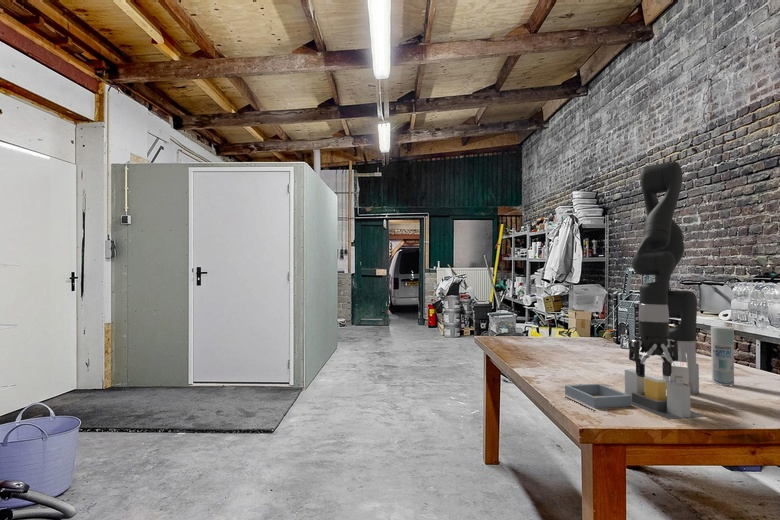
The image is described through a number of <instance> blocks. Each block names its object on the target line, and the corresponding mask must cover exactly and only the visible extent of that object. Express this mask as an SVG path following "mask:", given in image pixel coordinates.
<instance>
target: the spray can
mask: <svg viewBox="0 0 780 520" xmlns="http://www.w3.org/2000/svg"><path fill="white" fill-rule="evenodd" d="M734 329H735V328H734V327H731V326H723V325H722V326H720V325H713V326H712V325H711V326H710V350H711V351H710V353H711V358H710V359H711V382H713V383H716V384H721V385H734V386H735V346H734V345H735V342H734V341H735V336H734V335H735V334H734V333H735V332H734V331H735V330H734ZM713 383H712V384H713ZM716 384H715V385H716Z"/></svg>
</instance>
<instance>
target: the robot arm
mask: <svg viewBox="0 0 780 520" xmlns="http://www.w3.org/2000/svg"><path fill="white" fill-rule="evenodd" d="M639 176H640V187H641V192H642V196H643V201H644V206H645V210H646V219H645V222H644V225H643V232H642V239H641V241H640V244H639V245H638V248H637V249H636V251H635V253H634V255H633V258H632V261H631V262H632V263H631V266H632V269H633V271H634V272H635V273H636V274H637V275H640V276H654V281H653V282H647V283H642V284H641V285H640V286H639V307H638V335H639V336H640V339H639V340H638V339H637V340H636V339H629V351H628V352H629V353H628V359H629V361H632V362H634V363H635V370H636V374H637V376H639V377H645V376H646V374H645V373H646V364H645V363H646V361H647V360H648V359H649V358H650V357H651V356H659V357H660V359H661V360H662V378H663V379H666V390H667V382H669V376H671V373H672V363H673V362H674V361H677V362H687V360H688V370H689V386H690V396H696V395H697V394H700V374H699V373H700V372H699V371H700V370H699V369H700V368H699V367H700V365H699V363H697V351H696V350H697V345H696V344H697V343H696V341H697V340H696V338H697V337H696V335H697V315H698V312H697V311H698V299H697V296H696V294H695V293H694V292H693V291H690V290H671V289H670V281H671V277H672V275H673V272H674V271H675V269H676V267H677V266H678V264H679V263H680V261H681V259H682V257H684V253H685V243H684V235H683V234H684V233H683V230H682V229H681V227H680V226H679V224H678V223H677V222H676V221H675V220H674V219H673V216H674V213H675V210H676V207H677V204H678V201H679V197H680V193H681V190H682V186H683V180H684V179H683V178H684V177H683V170H682V166H681V165H680V163H679V162H678V161H667V162H662V163H657V164H656V163H655V164H652V165H647V166H644V167H642V168H641V170H640V175H639ZM662 193H664V195H663V197H662V198H661V200H659V199H658V196H657V194H662ZM670 319H677V320H678V319H680V323H679V324H678V325H675V326H674V327H670ZM686 353H687V359H686Z"/></svg>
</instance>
